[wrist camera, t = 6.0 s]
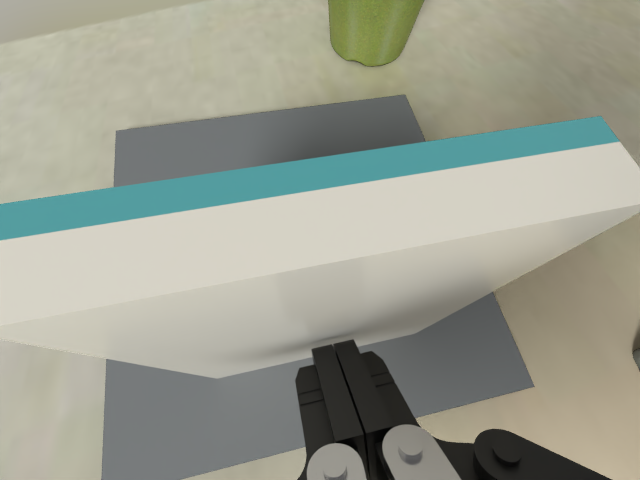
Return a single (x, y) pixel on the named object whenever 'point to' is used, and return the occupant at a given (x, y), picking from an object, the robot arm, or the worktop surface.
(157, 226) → the glazed tile
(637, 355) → the stone slab
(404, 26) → the plant pot
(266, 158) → the rubber mat
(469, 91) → the worktop surface
